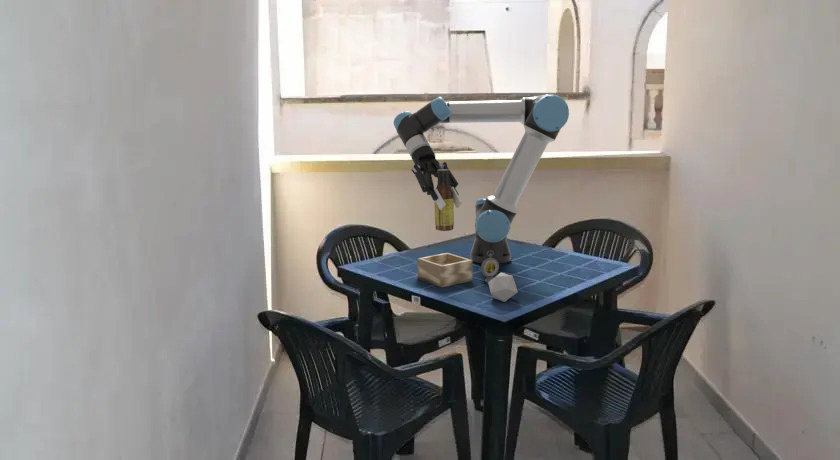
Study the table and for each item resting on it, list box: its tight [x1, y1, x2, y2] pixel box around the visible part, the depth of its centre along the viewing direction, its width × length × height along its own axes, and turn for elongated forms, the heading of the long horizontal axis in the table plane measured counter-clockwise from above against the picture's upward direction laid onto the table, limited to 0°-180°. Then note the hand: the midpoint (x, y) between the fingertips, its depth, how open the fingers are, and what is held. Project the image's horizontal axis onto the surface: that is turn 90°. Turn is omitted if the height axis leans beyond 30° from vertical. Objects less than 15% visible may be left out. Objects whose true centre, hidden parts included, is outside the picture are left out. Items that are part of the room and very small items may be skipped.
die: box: [487, 272, 519, 303], centre depth 205 cm, size 8×9×10 cm
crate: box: [417, 252, 473, 288], centre depth 226 cm, size 13×13×7 cm
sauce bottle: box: [434, 168, 455, 232], centre depth 221 cm, size 6×6×20 cm
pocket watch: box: [480, 251, 500, 284], centre depth 223 cm, size 8×8×10 cm
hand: (451, 206), depth 218 cm, fingers closed on sauce bottle, 6 cm apart
